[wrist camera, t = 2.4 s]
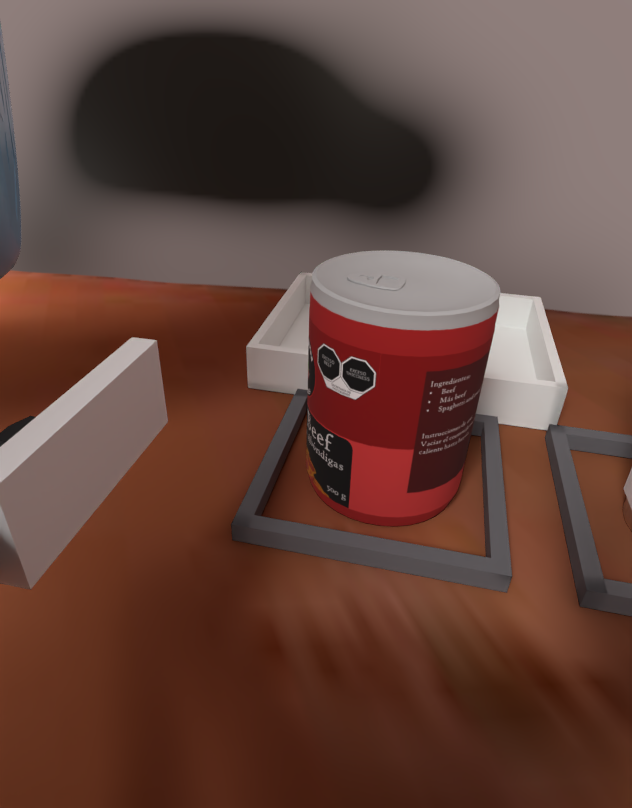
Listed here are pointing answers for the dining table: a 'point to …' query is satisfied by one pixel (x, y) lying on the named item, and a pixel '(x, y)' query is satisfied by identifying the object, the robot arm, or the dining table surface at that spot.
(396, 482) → the canned food
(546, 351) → the tray
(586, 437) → the rectangular frames
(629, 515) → the salt shaker
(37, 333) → the dining table surface
